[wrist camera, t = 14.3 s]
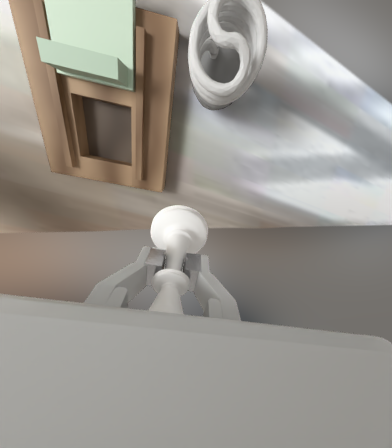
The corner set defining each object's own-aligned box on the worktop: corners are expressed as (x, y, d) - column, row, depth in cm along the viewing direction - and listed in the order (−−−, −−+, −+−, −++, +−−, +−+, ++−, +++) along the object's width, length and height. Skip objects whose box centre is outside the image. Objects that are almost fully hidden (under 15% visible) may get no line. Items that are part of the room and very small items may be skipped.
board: (64, 168, 25) (46, 172, 22) (27, -9, 16) (-10, -40, 13) (164, 187, 26) (160, 194, 23) (179, 33, 18) (175, 13, 15)
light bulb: (242, 100, 21) (289, 62, 10) (204, 124, 22) (210, 113, 11) (225, 46, 18) (263, -77, 8) (183, 77, 20) (167, 8, 9)
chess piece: (145, 207, 13) (31, 367, 4) (206, 202, 12) (231, 359, 4) (157, 254, 15) (105, 419, 6) (209, 251, 15) (228, 416, 6)
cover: (62, 74, 17) (36, 62, 15) (42, -46, 14) (1, -95, 11) (135, 92, 18) (123, 83, 15) (135, -18, 14) (120, -57, 11)
